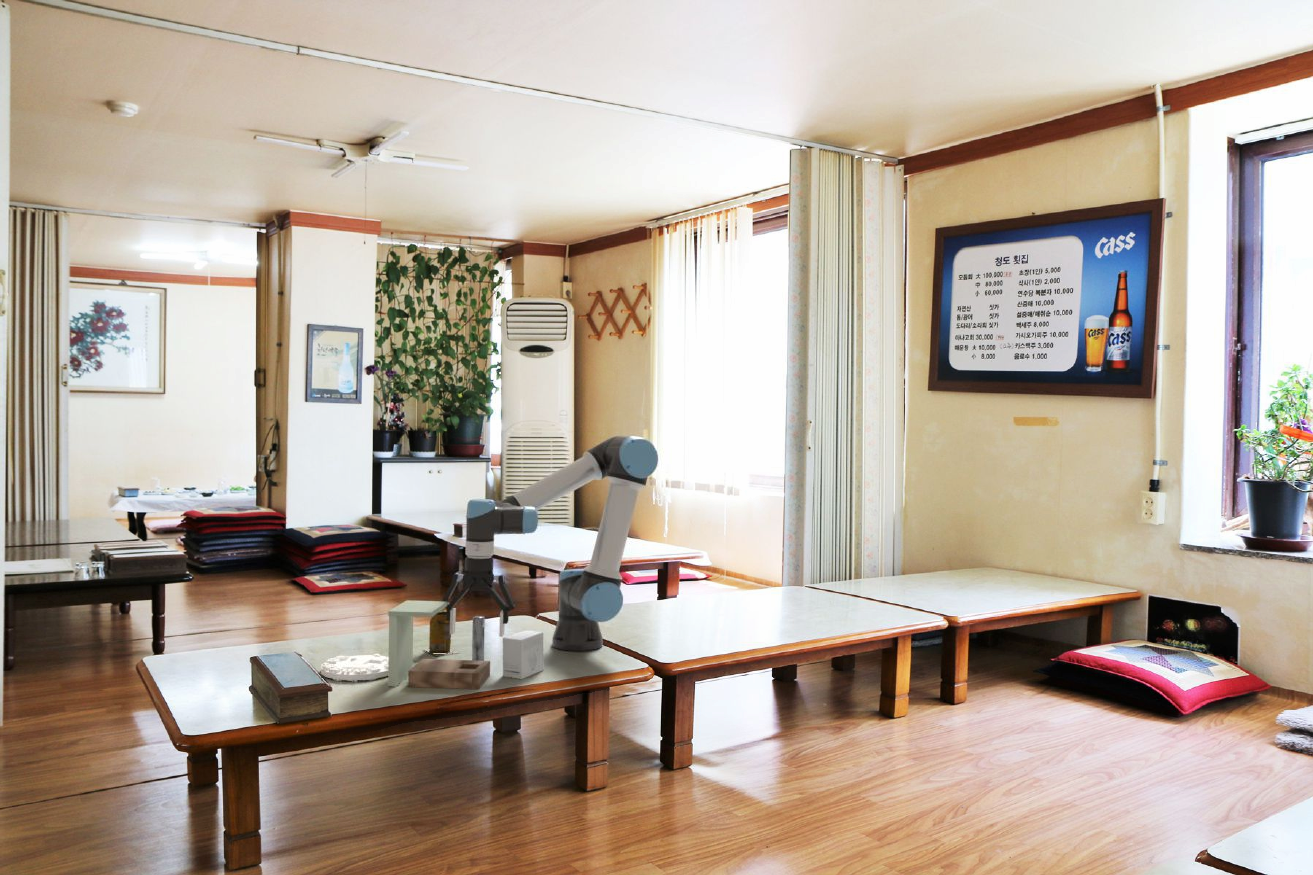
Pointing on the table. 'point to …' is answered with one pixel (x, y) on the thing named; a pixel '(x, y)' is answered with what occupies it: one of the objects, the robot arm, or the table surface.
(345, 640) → the table surface
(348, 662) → the white round plaque
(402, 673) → the pale green angled bracket
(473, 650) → the peg
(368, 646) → the table surface
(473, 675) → the socket block
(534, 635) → the skincare box
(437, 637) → the condiment
